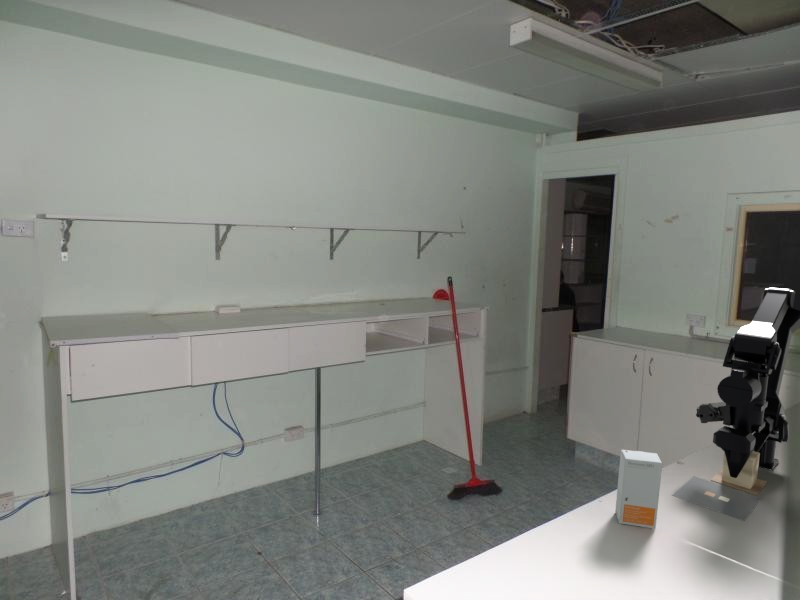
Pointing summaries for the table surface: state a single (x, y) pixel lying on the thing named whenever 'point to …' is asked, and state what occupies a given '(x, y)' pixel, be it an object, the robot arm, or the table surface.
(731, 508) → the tile
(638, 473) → the skincare box
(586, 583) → the table surface
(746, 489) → the pad
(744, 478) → the birch block
